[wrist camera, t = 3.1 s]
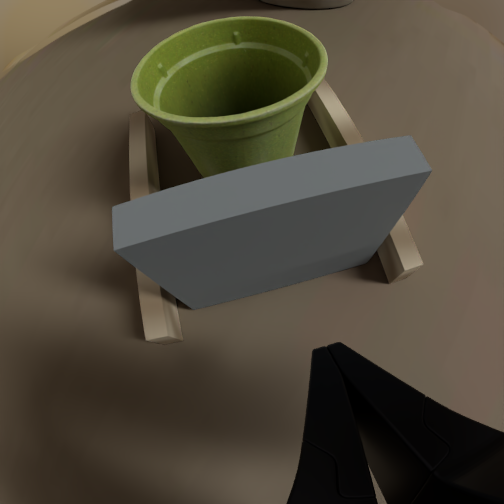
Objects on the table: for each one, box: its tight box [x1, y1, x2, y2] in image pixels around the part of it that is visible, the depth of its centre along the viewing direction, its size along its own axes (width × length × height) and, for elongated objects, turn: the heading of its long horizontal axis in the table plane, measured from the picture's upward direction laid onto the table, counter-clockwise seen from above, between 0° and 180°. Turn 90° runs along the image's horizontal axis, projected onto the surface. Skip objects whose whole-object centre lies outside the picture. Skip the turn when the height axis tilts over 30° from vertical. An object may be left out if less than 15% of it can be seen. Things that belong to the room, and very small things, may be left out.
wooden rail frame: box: [129, 79, 423, 345], centre depth 18 cm, size 16×14×2 cm
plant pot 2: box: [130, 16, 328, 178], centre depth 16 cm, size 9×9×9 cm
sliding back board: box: [112, 135, 432, 310], centre depth 13 cm, size 4×10×9 cm, turn 104°
